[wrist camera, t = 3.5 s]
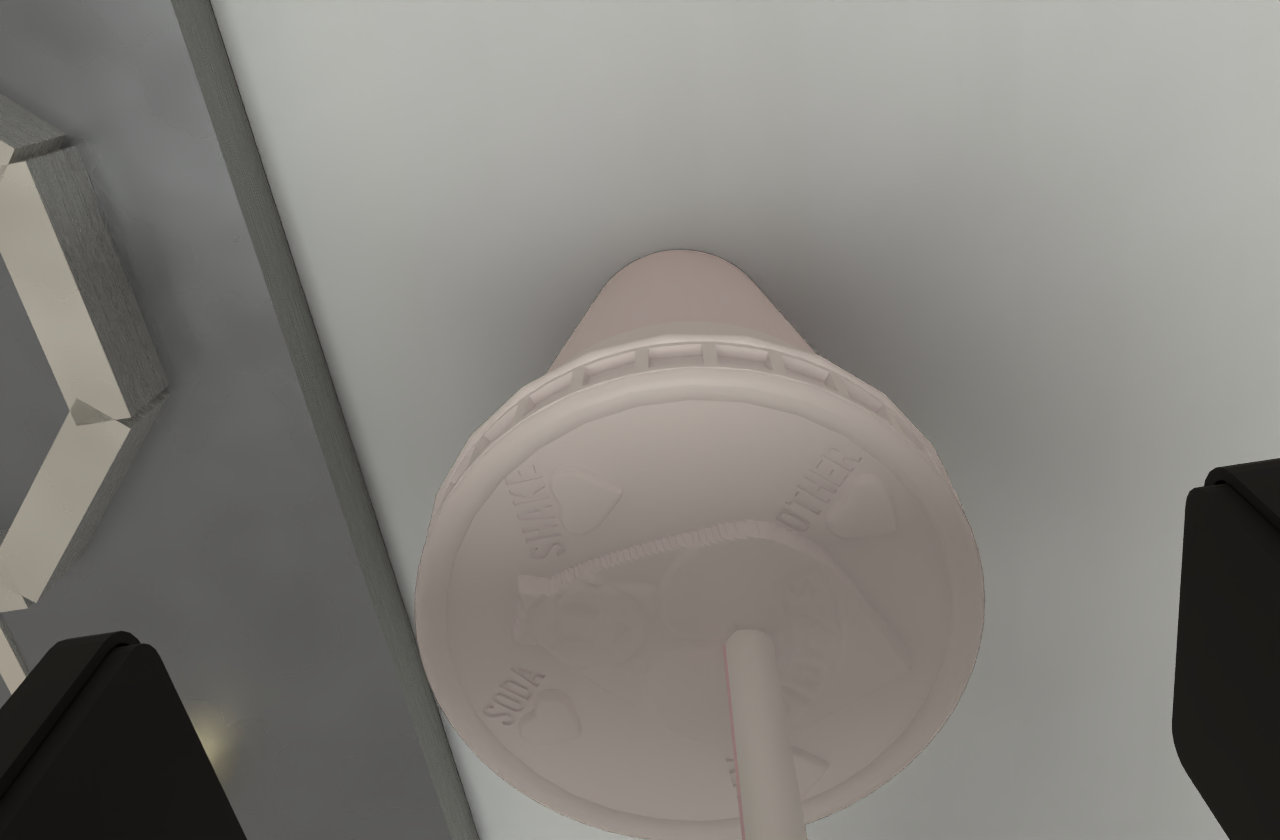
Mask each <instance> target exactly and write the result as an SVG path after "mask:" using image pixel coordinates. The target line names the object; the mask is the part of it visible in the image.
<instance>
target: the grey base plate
mask: <svg viewBox="0 0 1280 840" xmlns="http://www.w3.org/2000/svg"><path fill="white" fill-rule="evenodd" d="M116 631H125V632H130V633H131V634H132V635H134V636H135V637H136V638H138V640H139V641H140V643H145V644H150V645H151V646H152V647H154V648H155V649H156V651H157V652H158V654H159V655H160V657H161V659H162V661H163V663H164V665H165V668H166V670H167V672H168V674H169V676H170V678H171V680H172V682H173V684H174V687H175V689H176V691H177V693H178V695H179V697H180V699H181V701H182V703H183V705H184V708H185V710H186V712H187V714H188V716H189V718H190V720H191V722H192V724H193V727H194V729H195V731H196V733H197V735H198V737H199V739H200V741H201V743H202V745H203V748H204V750H205V752H206V754H207V756H208V758H209V760H210V762H211V764H212V766H213V769H214V771H215V773H216V775H217V777H218V779H219V781H220V783H221V785H222V788H223V790H224V792H225V794H226V796H227V798H228V800H229V802H230V804H231V806H232V809H233V811H234V813H235V815H236V817H237V819H238V821H239V823H240V825H241V828H242V830H243V832H244V834H245V836H246V838H247V840H479V838H478V835H477V832H476V829H475V825H474V822H473V819H472V816H471V813H470V810H469V807H468V804H467V801H466V797H465V794H464V791H463V788H462V785H461V782H460V779H459V776H458V773H457V769H456V766H455V763H454V760H453V757H452V754H451V751H450V748H449V745H448V741H447V738H446V735H445V732H444V729H443V726H442V723H441V720H440V717H439V713H438V710H437V707H436V704H435V701H434V698H433V695H432V692H431V689H430V685H429V682H428V679H427V676H426V673H425V670H424V667H423V664H422V661H421V657H420V654H419V651H418V648H417V645H416V642H415V639H414V636H413V633H412V629H411V626H410V623H409V620H408V617H407V614H406V611H405V608H404V605H403V601H402V598H401V595H400V592H399V589H398V586H397V583H396V580H395V577H394V573H393V570H392V567H391V564H390V561H389V558H388V555H387V552H386V549H385V545H384V542H383V539H382V536H381V533H380V530H379V527H378V524H377V521H376V517H375V514H374V511H373V508H372V505H371V502H370V499H369V496H368V492H367V489H366V486H365V483H364V480H363V477H362V474H361V471H360V468H359V464H358V461H357V458H356V455H355V452H354V449H353V446H352V443H351V440H350V436H349V433H348V430H347V427H346V424H345V421H344V418H343V415H342V412H341V408H340V405H339V402H338V399H337V396H336V393H335V390H334V387H333V384H332V380H331V377H330V374H329V371H328V368H327V365H326V362H325V359H324V356H323V352H322V349H321V346H320V343H319V340H318V337H317V334H316V331H315V328H314V324H313V321H312V318H311V315H310V312H309V309H308V306H307V303H306V300H305V296H304V293H303V290H302V287H301V284H300V281H299V278H298V275H297V272H296V268H295V265H294V262H293V259H292V256H291V253H290V250H289V247H288V244H287V240H286V237H285V234H284V231H283V228H282V225H281V222H280V219H279V216H278V212H277V209H276V206H275V203H274V200H273V197H272V194H271V191H270V188H269V184H268V181H267V178H266V175H265V172H264V169H263V166H262V163H261V160H260V156H259V153H258V150H257V147H256V144H255V141H254V138H253V135H252V132H251V128H250V125H249V122H248V119H247V116H246V113H245V110H244V107H243V104H242V100H241V97H240V94H239V91H238V88H237V85H236V82H235V79H234V75H233V72H232V69H231V66H230V63H229V60H228V57H227V54H226V51H225V47H224V44H223V41H222V38H221V35H220V32H219V29H218V26H217V23H216V19H215V16H214V13H213V10H212V7H211V4H210V1H209V0H0V709H1V707H2V706H3V705H4V704H5V702H6V701H7V700H8V699H9V698H10V696H11V695H12V694H13V693H14V692H15V690H16V689H17V688H18V687H19V686H20V684H21V683H22V682H23V681H24V679H25V678H26V677H27V676H28V675H29V673H30V672H31V671H32V670H33V669H34V667H35V666H36V665H37V664H38V663H39V661H40V660H41V659H42V658H43V656H44V655H45V654H46V653H47V652H48V650H49V649H50V648H51V647H53V646H54V645H55V644H56V643H57V642H59V641H62V640H65V639H69V638H76V637H83V636H89V635H96V634H103V633H109V632H116Z"/></svg>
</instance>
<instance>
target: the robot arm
mask: <svg viewBox="0 0 1280 840" xmlns="http://www.w3.org/2000/svg"><path fill="white" fill-rule="evenodd" d="M1172 734H1173V739H1174V744H1175V748H1176V751H1177V754H1178V757H1179V759H1180V762H1181V764H1182V766H1183V767H1184V769H1185V771H1186V773H1187V774H1188V776H1189V777H1190V779H1191V781H1192V782H1193V784H1194V785H1195V787H1196V788H1197V790H1198V791H1199V793H1200V794H1201V796H1202V798H1203V799H1204V801H1205V802H1206V804H1207V805H1208V807H1209V808H1210V810H1211V811H1212V813H1213V815H1214V816H1215V818H1216V819H1217V821H1218V822H1219V824H1220V825H1221V827H1222V828H1223V830H1224V832H1225V833H1226V835H1227V836H1228V838H1229V839H1230V840H1280V458H1278V459H1271V460H1264V461H1258V462H1251V463H1244V464H1237V465H1231V466H1224V467H1217V468H1215V469H1213V470H1212V471H1210V472H1209V474H1208V476H1207V478H1206V480H1205V484H1204V487H1198V488H1194V489H1192V490H1191V491H1190V492H1189V494H1188V496H1187V500H1186V506H1185V522H1184V538H1183V554H1182V571H1181V587H1180V603H1179V619H1178V635H1177V651H1176V667H1175V684H1174V700H1173V716H1172ZM0 840H247V838H246V836H245V834H244V832H243V830H242V828H241V825H240V823H239V821H238V819H237V817H236V815H235V813H234V811H233V809H232V806H231V804H230V802H229V800H228V798H227V796H226V794H225V792H224V790H223V788H222V785H221V783H220V781H219V779H218V777H217V775H216V773H215V771H214V769H213V766H212V764H211V762H210V760H209V758H208V756H207V754H206V752H205V750H204V748H203V745H202V743H201V741H200V739H199V737H198V735H197V733H196V731H195V729H194V727H193V724H192V722H191V720H190V718H189V716H188V714H187V712H186V710H185V708H184V705H183V703H182V701H181V699H180V697H179V695H178V693H177V691H176V689H175V687H174V684H173V682H172V680H171V678H170V676H169V674H168V672H167V670H166V668H165V665H164V663H163V661H162V659H161V657H160V655H159V654H158V652H157V651H156V649H155V648H154V647H152V646H151V645H150V644H145V643H140V641H139V640H138V638H136V637H135V636H134V635H132V634H131V633H130V632H125V631H116V632H109V633H103V634H96V635H89V636H83V637H76V638H69V639H65V640H62V641H59V642H57V643H56V644H55V645H54V646H53V647H51V648H50V649H49V650H48V652H47V653H46V654H45V655H44V656H43V658H42V659H41V660H40V661H39V663H38V664H37V665H36V666H35V667H34V669H33V670H32V671H31V672H30V673H29V675H28V676H27V677H26V678H25V679H24V681H23V682H22V683H21V684H20V686H19V687H18V688H17V689H16V690H15V692H14V693H13V694H12V695H11V696H10V698H9V699H8V700H7V701H6V702H5V704H4V705H3V706H2V707H1V709H0Z"/></svg>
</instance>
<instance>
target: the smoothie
mask: <svg viewBox="0 0 1280 840" xmlns="http://www.w3.org/2000/svg"><path fill="white" fill-rule="evenodd" d="M984 610H985V592H984V578H983V571H982V566H981V561H980V556H979V551H978V548H977V545H976V542H975V539H974V535H973V532H972V529H971V527H970V524H969V522H968V520H967V518H966V516H965V514H964V512H963V509H962V505H961V502H960V500H959V498H958V496H957V494H956V492H955V490H954V488H953V486H952V484H951V482H950V480H949V478H948V476H947V474H946V472H945V469H944V467H943V465H942V463H941V461H940V459H939V457H938V455H937V453H936V451H935V449H934V447H933V445H932V444H931V443H930V442H929V441H928V440H927V439H926V437H925V436H924V435H923V434H922V433H921V432H920V431H919V430H918V429H917V428H916V427H915V426H914V425H913V424H912V423H911V422H910V420H909V419H908V418H907V417H906V416H905V415H904V414H903V413H902V412H901V411H900V410H899V409H898V408H897V407H896V406H895V405H894V403H893V402H892V401H891V400H890V399H889V398H888V397H887V396H886V395H885V394H884V393H882V392H881V391H879V390H877V389H876V388H874V387H872V386H870V385H869V384H867V383H865V382H864V381H862V380H860V379H859V378H857V377H855V376H854V375H852V374H850V373H849V372H847V371H845V370H843V369H842V368H840V367H838V366H837V365H835V364H833V363H832V362H830V361H828V360H827V359H825V358H823V357H821V356H819V355H817V354H816V353H815V352H814V351H813V349H812V348H811V347H810V346H809V345H808V344H807V343H806V341H805V340H804V339H803V338H802V337H801V336H800V335H799V334H798V332H797V331H796V330H795V329H794V328H793V327H792V326H791V325H790V323H789V322H788V321H787V320H786V319H785V318H784V317H783V315H782V314H781V313H780V312H779V311H778V310H777V309H776V308H775V306H774V305H773V304H772V303H771V302H770V301H769V300H768V299H767V297H766V296H765V295H764V294H763V293H762V292H761V291H760V289H759V288H758V287H757V286H756V285H755V284H754V283H753V282H752V280H751V279H750V278H749V277H748V276H747V275H746V274H744V273H743V272H742V271H741V270H740V269H738V268H737V267H735V266H734V265H732V264H731V263H729V262H727V261H725V260H724V259H722V258H719V257H717V256H714V255H711V254H708V253H705V252H700V251H694V250H667V251H662V252H657V253H653V254H650V255H647V256H645V257H642V258H640V259H638V260H636V261H634V262H632V263H630V264H629V265H627V266H626V267H624V268H623V269H621V270H620V271H619V272H618V273H616V274H615V275H614V276H613V277H612V278H611V279H610V280H609V281H608V282H607V284H606V285H605V286H604V287H603V289H602V290H601V292H600V293H599V295H598V296H597V298H596V299H595V301H594V302H593V304H592V305H591V307H590V308H589V310H588V311H587V313H586V314H585V316H584V317H583V319H582V320H581V322H580V323H579V325H578V326H577V328H576V329H575V331H574V332H573V334H572V335H571V337H570V338H569V339H568V341H567V342H566V344H565V345H564V347H563V348H562V350H561V351H560V353H559V354H558V356H557V357H556V359H555V360H554V362H553V363H552V365H551V366H550V368H549V369H548V371H547V372H546V374H545V375H543V376H542V377H540V378H538V379H536V380H534V381H532V382H530V383H528V384H526V385H524V386H523V387H522V388H521V389H519V390H518V391H517V392H516V393H515V394H514V395H513V396H512V397H511V398H510V399H509V400H508V401H507V402H506V403H505V404H503V405H502V406H501V407H500V408H499V409H498V410H497V411H496V412H495V413H494V414H493V415H492V416H491V417H490V418H488V419H487V420H486V421H485V422H484V423H483V424H482V425H481V426H480V427H479V428H478V429H477V430H476V431H475V432H474V433H472V434H471V436H470V437H469V439H468V441H467V442H466V444H465V446H464V447H463V449H462V451H461V453H460V454H459V456H458V458H457V459H456V461H455V463H454V465H453V466H452V468H451V470H450V471H449V473H448V475H447V476H446V478H445V480H444V482H443V483H442V485H441V487H440V488H439V490H438V492H437V494H436V499H435V503H434V507H433V512H432V516H431V520H430V525H429V529H428V533H427V538H426V542H425V545H424V548H423V552H422V556H421V560H420V564H419V568H418V573H417V581H416V589H415V626H416V635H417V643H418V647H419V651H420V656H421V660H422V664H423V667H424V670H425V673H426V676H427V678H428V681H429V684H430V686H431V688H432V691H433V693H434V695H435V697H436V699H437V701H438V703H439V705H440V707H441V709H442V710H443V712H444V713H445V715H446V717H447V718H448V720H449V722H450V723H451V725H452V726H453V728H454V729H455V730H456V731H457V733H458V734H459V735H460V737H461V738H462V739H463V741H464V742H465V743H466V744H467V745H468V747H469V748H470V749H471V750H472V751H473V752H474V753H475V754H476V755H477V756H478V757H479V758H480V759H481V761H483V762H484V763H485V764H486V765H487V766H488V767H489V768H490V769H492V770H493V771H494V772H495V773H496V774H497V775H498V776H499V777H501V778H502V779H503V780H505V781H506V782H507V783H509V784H510V785H512V786H513V787H514V788H516V789H517V790H518V791H520V792H522V793H523V794H525V795H526V796H528V797H530V798H531V799H533V800H535V801H536V802H538V803H540V804H542V805H543V806H545V807H547V808H549V809H551V810H553V811H555V812H557V813H559V814H561V815H563V816H566V817H569V818H571V819H574V820H576V821H579V822H581V823H584V824H587V825H590V826H593V827H596V828H599V829H602V830H605V831H608V832H613V833H618V834H622V835H626V836H631V837H637V838H643V839H648V840H808V838H807V833H806V827H805V825H806V824H809V823H811V822H814V821H816V820H819V819H821V818H824V817H827V816H829V815H831V814H833V813H835V812H837V811H839V810H842V809H844V808H846V807H848V806H850V805H851V804H853V803H855V802H857V801H858V800H860V799H862V798H864V797H865V796H867V795H869V794H870V793H872V792H873V791H875V790H876V789H878V788H879V787H881V786H882V785H883V784H885V783H886V782H888V781H889V780H891V779H892V778H893V777H894V776H895V775H897V774H898V773H899V772H900V771H901V770H903V769H904V768H905V767H906V766H907V765H909V764H910V763H911V762H912V761H913V760H914V759H915V758H916V757H917V756H918V755H919V754H920V753H921V752H922V751H923V750H924V749H925V748H926V746H927V745H928V744H929V743H930V742H931V740H932V739H933V738H934V737H935V736H936V734H937V733H938V732H939V731H940V730H941V728H942V727H943V725H944V724H945V722H946V721H947V719H948V718H949V716H950V715H951V713H952V712H953V711H954V709H955V707H956V705H957V703H958V701H959V700H960V698H961V696H962V694H963V692H964V690H965V688H966V686H967V683H968V681H969V678H970V676H971V673H972V671H973V668H974V665H975V662H976V658H977V655H978V651H979V648H980V643H981V637H982V631H983V625H984Z"/></svg>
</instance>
